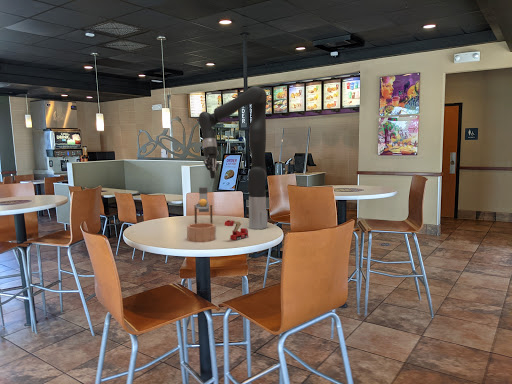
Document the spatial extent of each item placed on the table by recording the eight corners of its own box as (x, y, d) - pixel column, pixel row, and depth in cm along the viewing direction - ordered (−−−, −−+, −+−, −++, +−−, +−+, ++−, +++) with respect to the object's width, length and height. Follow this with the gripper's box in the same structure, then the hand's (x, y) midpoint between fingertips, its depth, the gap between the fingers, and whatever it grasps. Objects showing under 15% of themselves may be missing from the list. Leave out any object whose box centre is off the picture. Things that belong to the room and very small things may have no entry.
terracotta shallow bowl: (220, 237, 185) (220, 224, 184) (203, 243, 174) (203, 229, 173) (199, 234, 191) (199, 222, 191) (181, 239, 180) (181, 226, 180)
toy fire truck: (249, 237, 186) (249, 217, 185) (229, 242, 176) (229, 221, 175) (243, 236, 188) (243, 216, 187) (224, 241, 178) (224, 220, 177)
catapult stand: (193, 229, 205) (192, 203, 204) (215, 229, 206) (215, 203, 204) (190, 235, 191) (190, 207, 190) (214, 234, 192) (214, 206, 190)
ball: (208, 206, 195) (208, 198, 195) (203, 206, 191) (203, 198, 192) (202, 207, 197) (202, 199, 197) (197, 206, 193) (197, 198, 194)
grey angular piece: (198, 211, 204) (198, 187, 204) (210, 211, 205) (210, 186, 205) (195, 213, 186) (195, 186, 186) (208, 213, 186) (208, 186, 186)
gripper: (211, 151, 219) (214, 181, 216) (197, 146, 207) (200, 178, 205) (222, 148, 216) (225, 178, 213) (209, 143, 204) (212, 175, 201)
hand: (213, 178), depth 209 cm, fingers closed
